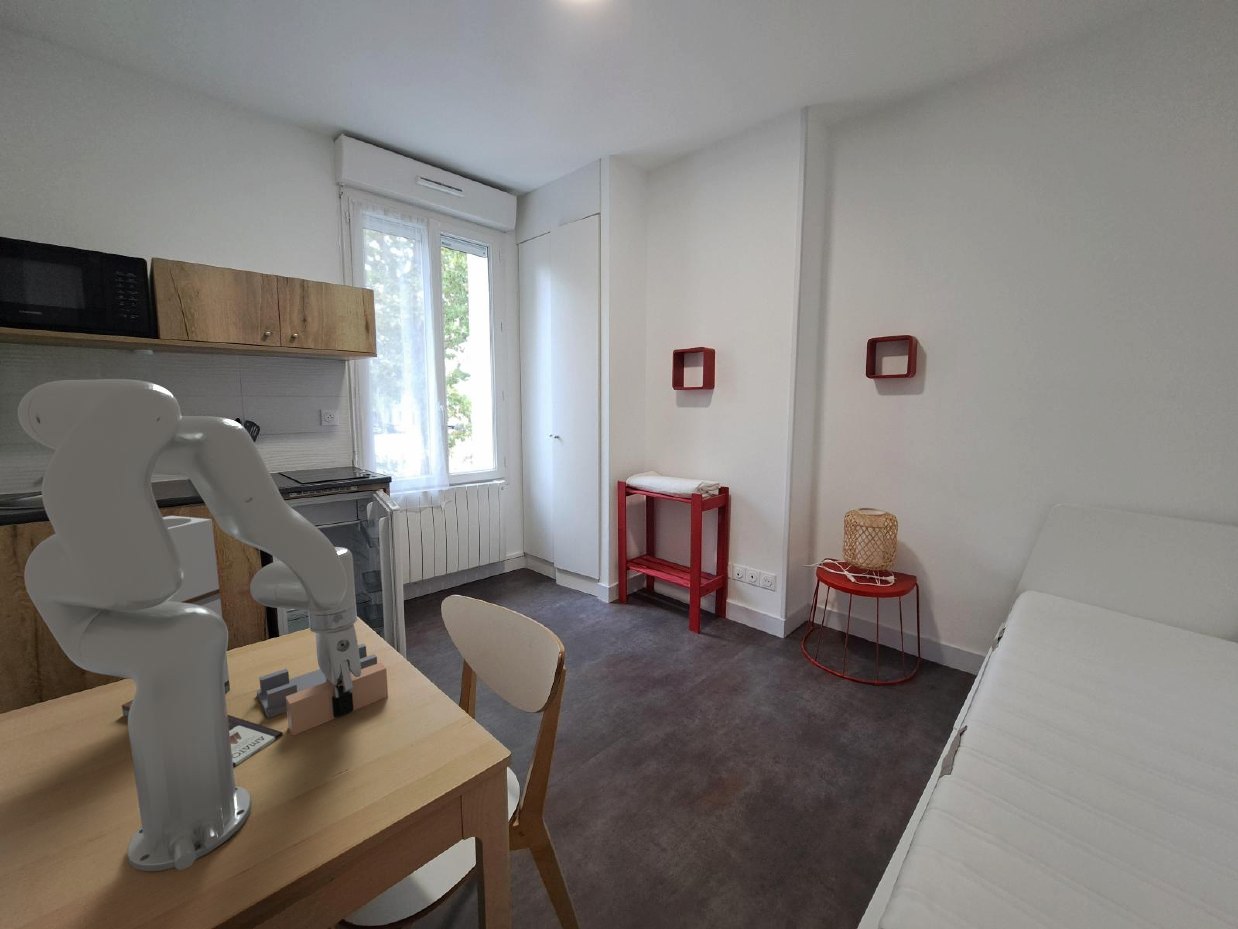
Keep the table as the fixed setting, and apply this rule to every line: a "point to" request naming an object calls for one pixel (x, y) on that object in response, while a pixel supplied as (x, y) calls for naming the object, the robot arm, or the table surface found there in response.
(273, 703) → the grey slotted stand
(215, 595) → the white open storage bin
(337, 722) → the table surface
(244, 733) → the chocolate bar
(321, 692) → the clay bar
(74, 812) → the table surface
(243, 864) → the table surface
